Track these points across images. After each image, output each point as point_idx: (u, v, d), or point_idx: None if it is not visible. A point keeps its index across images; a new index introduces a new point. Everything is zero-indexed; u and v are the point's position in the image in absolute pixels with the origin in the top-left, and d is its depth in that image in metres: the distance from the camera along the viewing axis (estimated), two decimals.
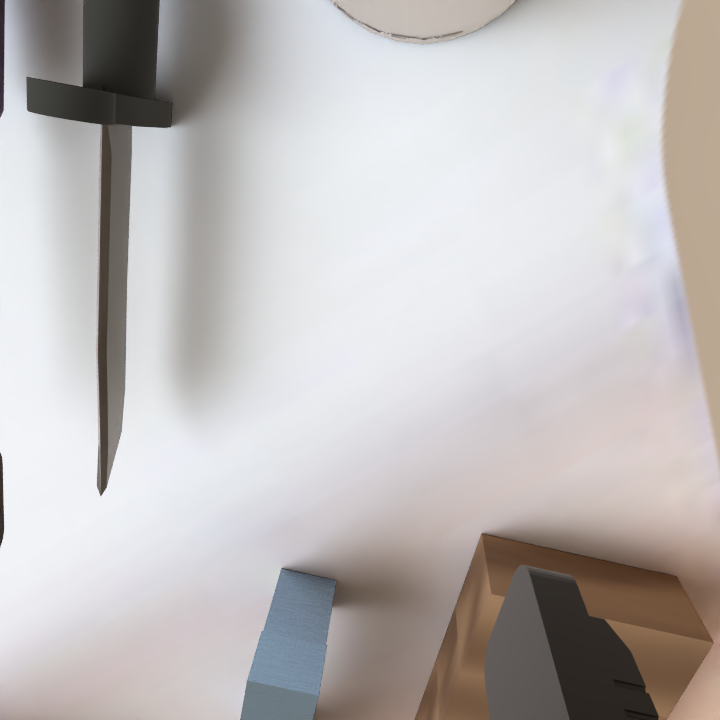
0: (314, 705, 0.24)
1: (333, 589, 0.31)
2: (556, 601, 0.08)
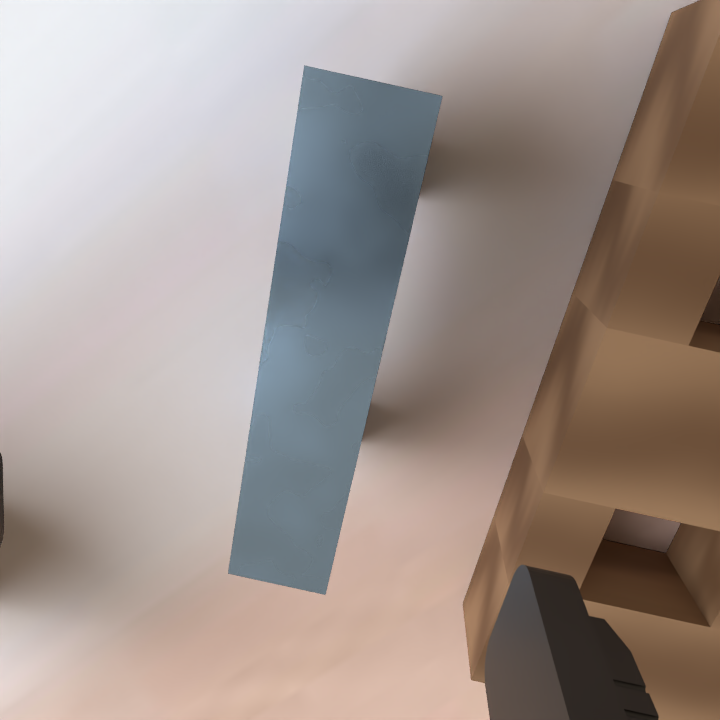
0: (431, 125, 0.13)
1: None
2: (556, 601, 0.08)
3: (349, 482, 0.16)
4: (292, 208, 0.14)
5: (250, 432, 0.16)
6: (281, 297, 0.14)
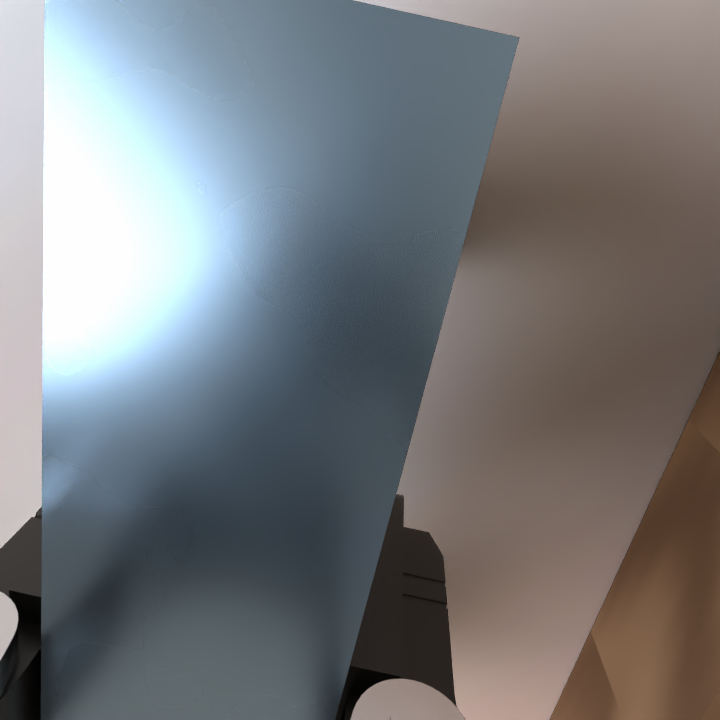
0: (479, 138, 0.04)
1: None
2: None
3: None
4: (69, 374, 0.05)
5: None
6: (72, 583, 0.06)
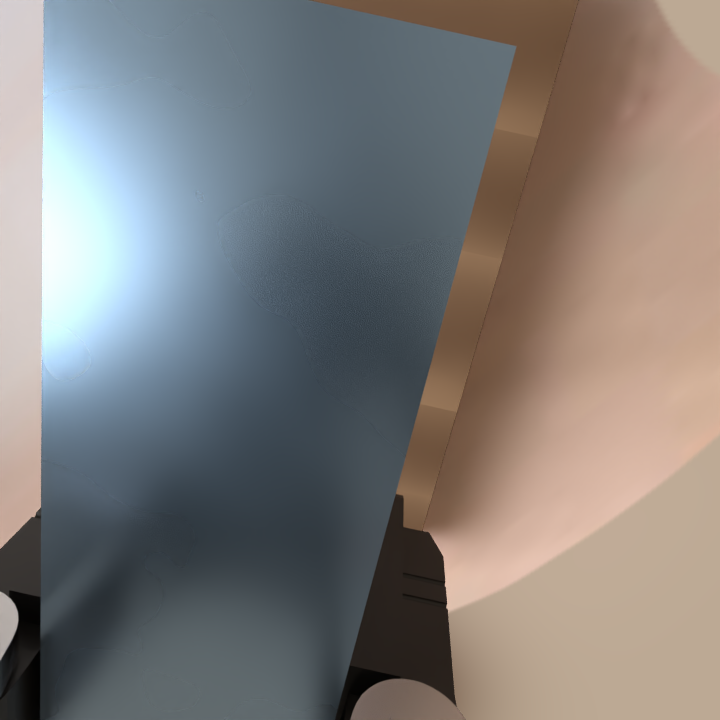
0: (477, 146, 0.04)
1: None
2: None
3: None
4: (68, 380, 0.05)
5: None
6: (72, 588, 0.06)
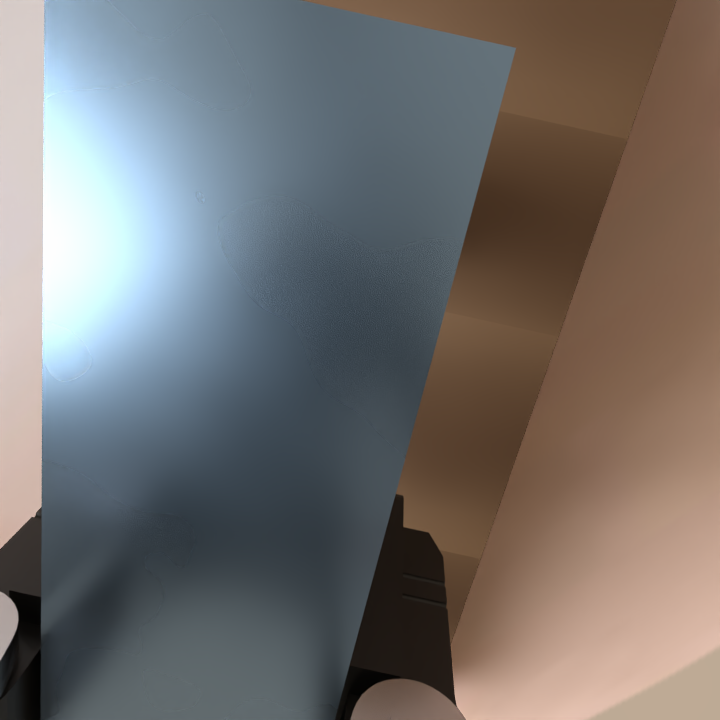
0: (476, 147, 0.04)
1: None
2: None
3: None
4: (69, 380, 0.05)
5: None
6: (72, 588, 0.06)
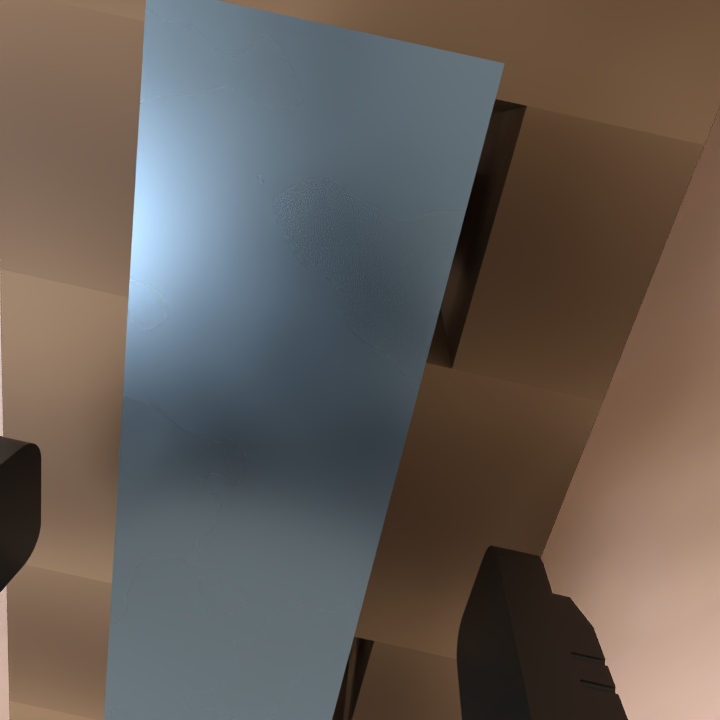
0: (475, 139, 0.05)
1: None
2: (520, 579, 0.08)
3: None
4: (148, 329, 0.06)
5: None
6: (142, 507, 0.07)
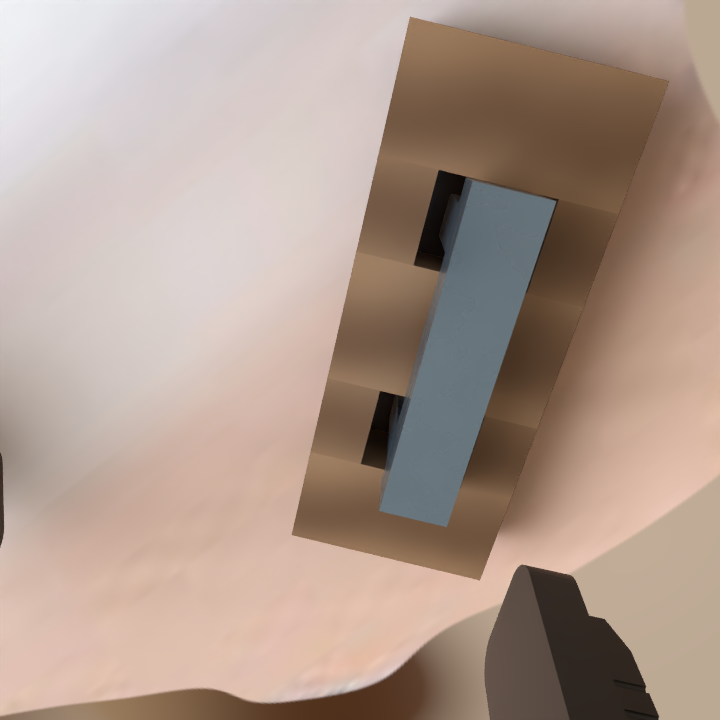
0: (548, 218, 0.21)
1: None
2: (556, 601, 0.08)
3: (472, 445, 0.24)
4: (455, 265, 0.22)
5: (408, 410, 0.24)
6: (441, 320, 0.22)
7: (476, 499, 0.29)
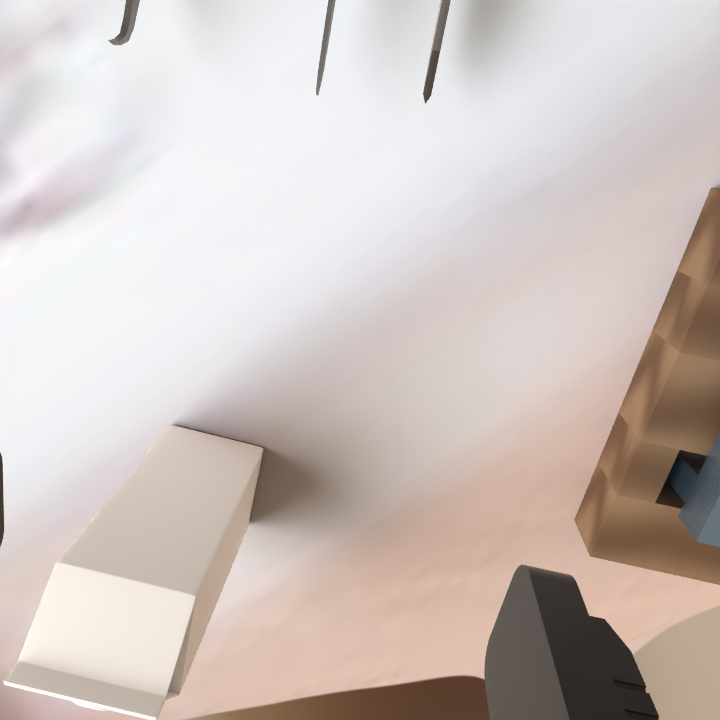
0: None
1: None
2: (556, 601, 0.08)
3: None
4: None
5: None
6: None
7: None
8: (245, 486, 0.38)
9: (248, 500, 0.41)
